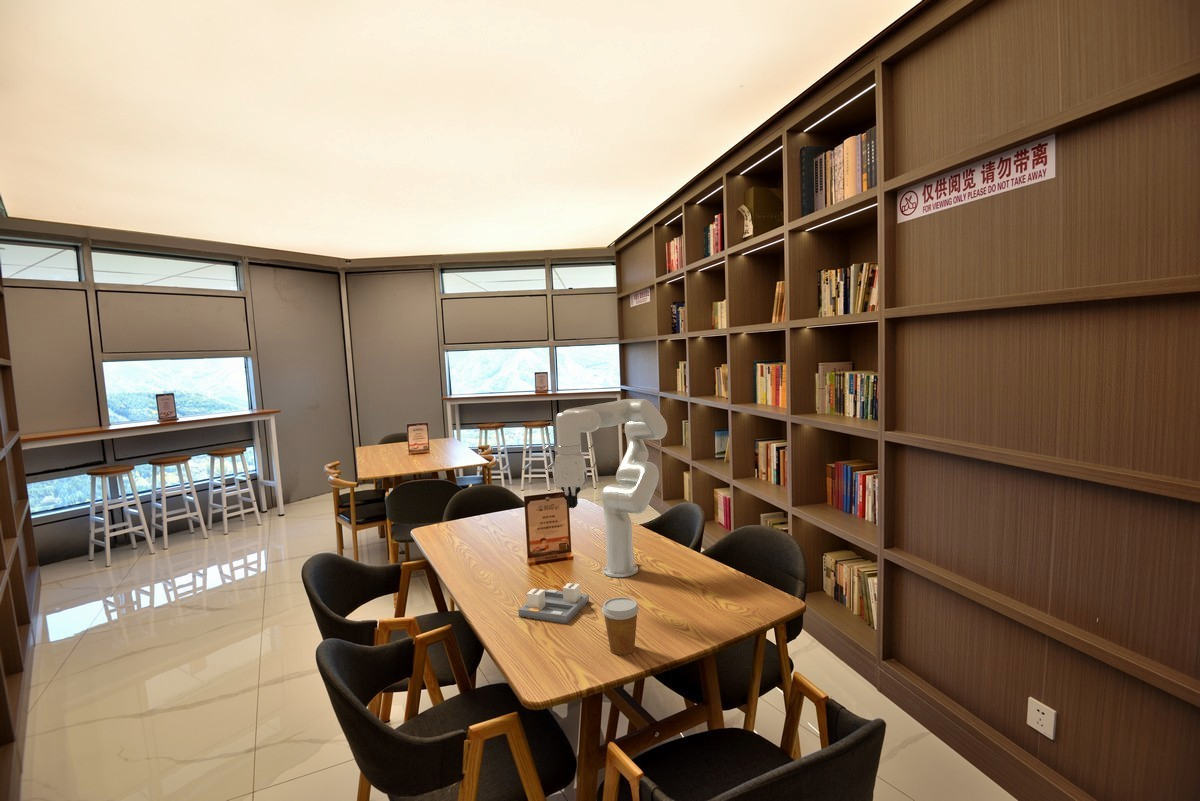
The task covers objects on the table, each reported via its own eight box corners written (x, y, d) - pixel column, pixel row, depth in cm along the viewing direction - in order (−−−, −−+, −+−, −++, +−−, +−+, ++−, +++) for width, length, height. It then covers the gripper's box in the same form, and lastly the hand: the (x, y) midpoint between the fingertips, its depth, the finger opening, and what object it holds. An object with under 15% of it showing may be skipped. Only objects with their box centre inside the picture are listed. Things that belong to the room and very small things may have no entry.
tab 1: (534, 604, 170) (533, 587, 170) (545, 605, 169) (544, 588, 168) (527, 609, 166) (526, 592, 166) (539, 611, 165) (538, 593, 165)
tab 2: (569, 598, 173) (568, 581, 173) (580, 599, 172) (579, 583, 171) (563, 603, 170) (562, 586, 169) (575, 605, 168) (574, 588, 168)
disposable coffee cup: (646, 644, 144) (644, 600, 143) (630, 662, 136) (627, 614, 135) (615, 637, 149) (613, 594, 148) (597, 653, 141) (594, 607, 140)
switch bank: (544, 595, 180) (543, 588, 179) (589, 601, 173) (588, 593, 173) (518, 616, 165) (518, 608, 165) (566, 623, 159) (566, 615, 159)
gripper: (543, 452, 175) (546, 508, 176) (586, 452, 170) (589, 511, 170) (554, 448, 182) (557, 503, 183) (595, 449, 176) (598, 505, 177)
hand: (572, 507), depth 177 cm, fingers closed
